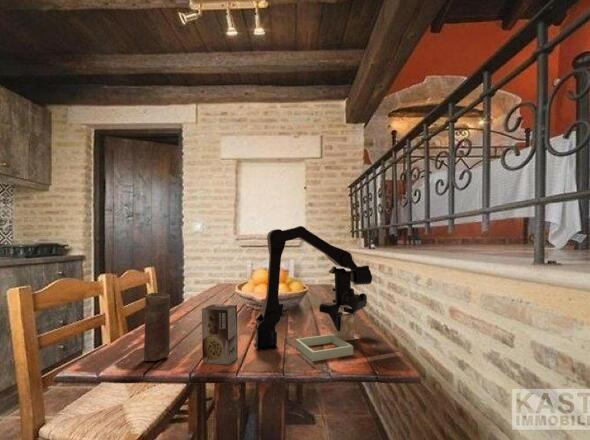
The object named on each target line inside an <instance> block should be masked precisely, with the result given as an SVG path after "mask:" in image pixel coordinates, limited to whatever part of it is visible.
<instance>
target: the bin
mask: <svg viewBox="0 0 590 440" xmlns="http://www.w3.org/2000/svg"><path fill="white" fill-rule="evenodd" d="M333 334H334V333H330V334H323V335H316V336H309V337H301V338H295V351H296V352H297V353H298V354H300V355H301V356H302V357H303V358H304V359H305V360H307V361H308V362H309V364H311V365H312V366H314V365H315V362H317V361H318V362H319V361H322V360H323V361H324V360H330V359H335V358H336V359H337V358H342V357H347V356H353V355H354V345H352V344H351V343H349V342H347V341H344V340H342V339H340V338H338V337H337V336H335V335H333ZM331 343H332V344H333V345H335V346H336V347H333V348H327V349H326V348H325V349H320V350H313V349H312V348H310V346H316V345H317V346H319V345H325V344H331Z"/></svg>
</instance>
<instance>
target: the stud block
mask: <svg viewBox="0 0 590 440" xmlns="http://www.w3.org/2000/svg"><path fill="white" fill-rule="evenodd" d="M332 334H333V335H334V333H332ZM340 339H341V338H340ZM357 339H358V340H359V339H360V337H358V336H356V335H354V337H351V338H348V339H345V340H344V339H342V340H344V341H345V342H347V341H351V340H357Z"/></svg>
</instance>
